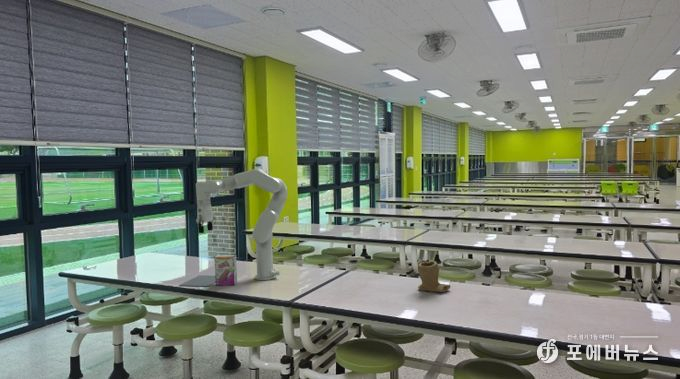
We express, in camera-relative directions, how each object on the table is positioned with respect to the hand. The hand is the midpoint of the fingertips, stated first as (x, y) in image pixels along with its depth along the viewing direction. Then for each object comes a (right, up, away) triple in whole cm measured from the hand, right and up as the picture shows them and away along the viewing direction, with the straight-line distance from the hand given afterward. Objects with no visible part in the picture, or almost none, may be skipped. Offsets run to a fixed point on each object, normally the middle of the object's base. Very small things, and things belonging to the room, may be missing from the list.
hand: (205, 231), depth 265 cm
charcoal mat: (-1, -29, -2) cm, 29 cm away
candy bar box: (+15, -29, -11) cm, 34 cm away
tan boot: (+126, -27, -36) cm, 134 cm away
